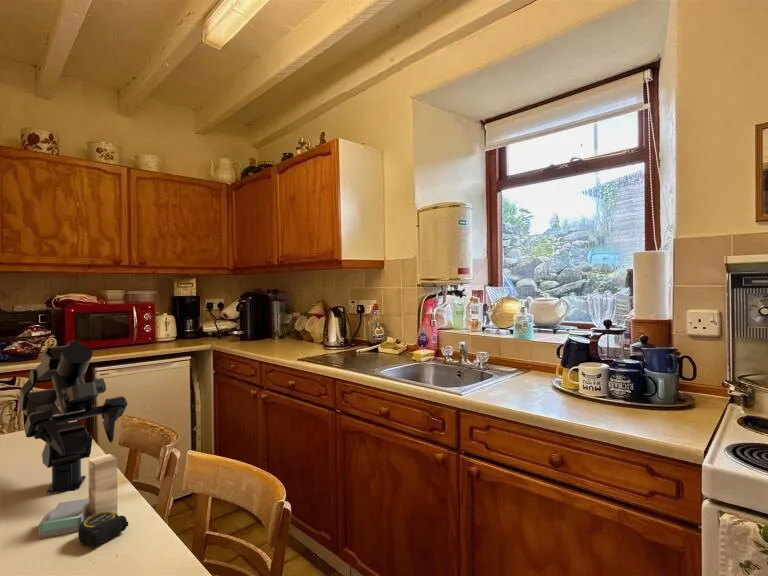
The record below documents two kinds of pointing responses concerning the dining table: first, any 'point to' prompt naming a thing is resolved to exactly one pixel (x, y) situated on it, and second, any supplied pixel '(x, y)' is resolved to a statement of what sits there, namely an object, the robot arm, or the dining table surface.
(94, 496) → the beech post
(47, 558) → the dining table surface
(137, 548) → the dining table surface
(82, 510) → the grey shallow tray
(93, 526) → the tape measure
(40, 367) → the robot arm
